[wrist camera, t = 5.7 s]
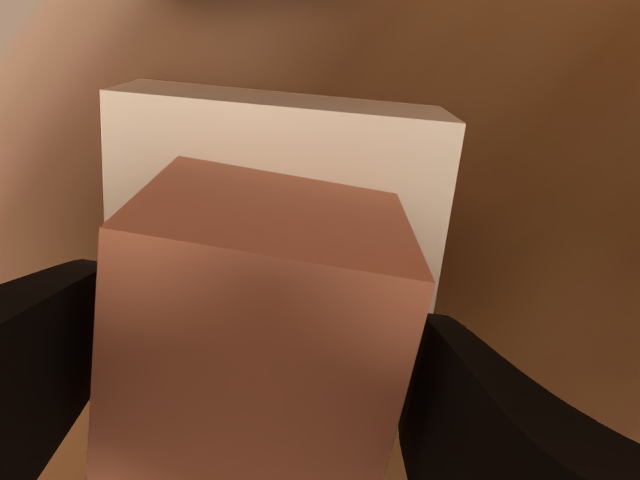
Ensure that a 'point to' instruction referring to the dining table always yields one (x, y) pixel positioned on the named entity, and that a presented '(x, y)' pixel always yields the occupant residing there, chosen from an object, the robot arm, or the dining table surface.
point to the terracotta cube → (252, 328)
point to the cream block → (287, 144)
